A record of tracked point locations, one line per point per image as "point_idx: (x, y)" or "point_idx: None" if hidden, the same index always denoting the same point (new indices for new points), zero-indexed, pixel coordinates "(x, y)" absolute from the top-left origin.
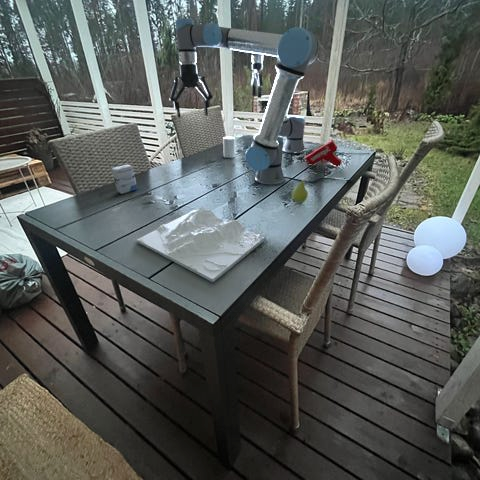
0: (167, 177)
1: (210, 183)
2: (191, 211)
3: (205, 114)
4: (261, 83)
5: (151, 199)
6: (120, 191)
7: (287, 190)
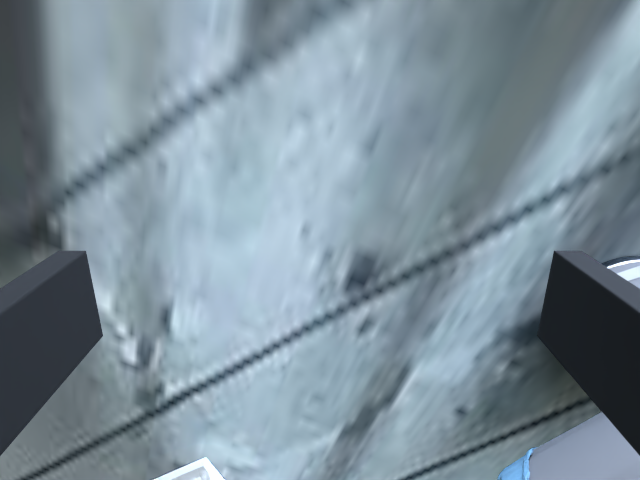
0: (152, 36)
1: (353, 236)
2: (196, 469)
3: (551, 300)
4: None
5: None
6: None
7: None
